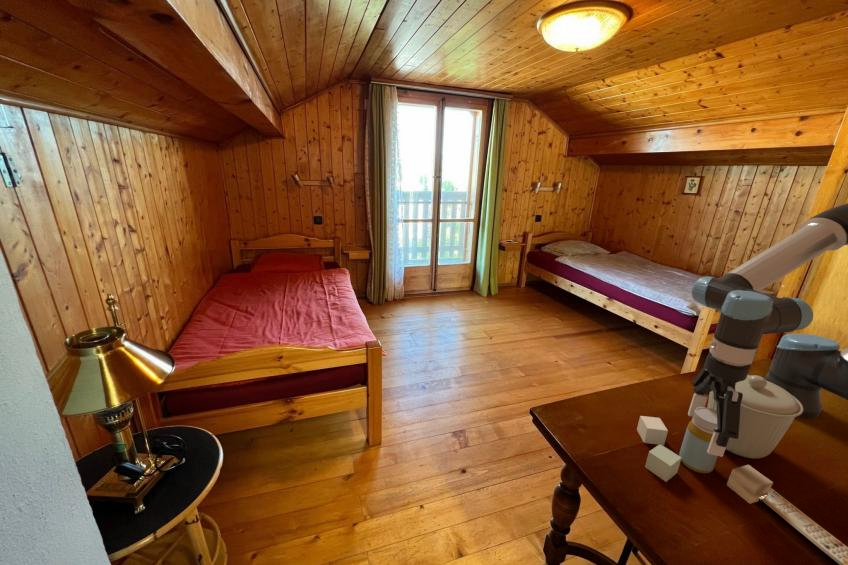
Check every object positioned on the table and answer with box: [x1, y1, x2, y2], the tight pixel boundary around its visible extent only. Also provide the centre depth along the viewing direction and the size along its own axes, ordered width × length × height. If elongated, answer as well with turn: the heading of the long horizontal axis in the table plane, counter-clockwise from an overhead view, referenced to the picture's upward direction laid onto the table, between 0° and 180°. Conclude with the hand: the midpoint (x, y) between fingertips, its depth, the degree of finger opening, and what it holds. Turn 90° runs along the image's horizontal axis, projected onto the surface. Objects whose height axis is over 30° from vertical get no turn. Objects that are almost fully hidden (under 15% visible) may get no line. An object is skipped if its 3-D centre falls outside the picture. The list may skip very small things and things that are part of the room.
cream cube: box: [636, 415, 669, 446], centre depth 97 cm, size 5×5×5 cm
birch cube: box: [726, 464, 774, 504], centre depth 81 cm, size 5×5×5 cm
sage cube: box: [644, 444, 682, 483], centre depth 86 cm, size 5×5×5 cm
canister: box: [707, 374, 803, 460], centre depth 92 cm, size 18×18×21 cm
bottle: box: [678, 406, 719, 474], centre depth 86 cm, size 7×7×15 cm
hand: (703, 433), depth 86 cm, fingers open, 13 cm apart
